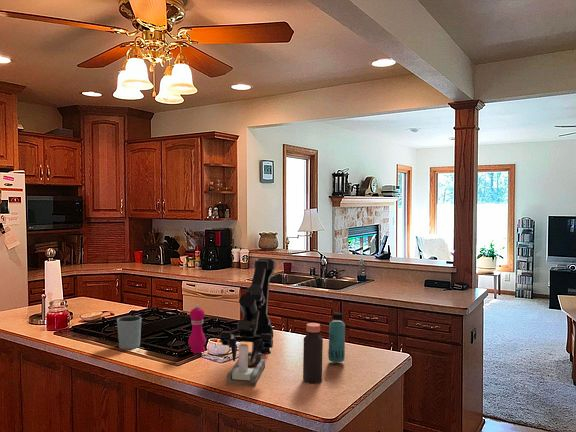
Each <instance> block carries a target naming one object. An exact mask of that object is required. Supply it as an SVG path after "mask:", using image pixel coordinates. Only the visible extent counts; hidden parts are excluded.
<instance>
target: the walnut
mask: <svg viewBox="0 0 576 432" xmlns="http://www.w3.org/2000/svg"><path fill="white" fill-rule="evenodd" d="M250 361H251V356H248V365H249V366H252V365H254V364H255V359H254V360H253V362H252V363H251V362H250Z"/></svg>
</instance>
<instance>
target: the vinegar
mask: <svg viewBox="0 0 576 432" xmlns="http://www.w3.org/2000/svg"><path fill="white" fill-rule="evenodd" d="M305 331H306V333H307V334H306V335H305V336H304V337H303V353H302V354H303V355H302V357H303V359H302V362H303V363H302V380H303V381H304V382H305V383H306V384H311V385H312V384H314V385H315V384H319V383H321V382H322V381H323V353H324V352H323V346H324V342H323V341H324V340H323V339H324V338H323V337H322V336H321V335H320V333H321V324H320V323H317V322H309V323H306V330H305Z"/></svg>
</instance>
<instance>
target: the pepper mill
mask: <svg viewBox="0 0 576 432" xmlns="http://www.w3.org/2000/svg"><path fill="white" fill-rule="evenodd" d="M205 316H206V315H205V310H204V309H203V308H201V307H200V305H199V304H198V303H196V304H195V306H194V308H193V309H191V310H190V312H189V317H190V319H191V322H190V324H191V326H192V329H191V333H190V334H189V337H188V341H187V342H188V346H189V348H190V347H191V349H190V350H191V352H193V353H201V352H204V351H205V350H206V349H205V345H206V343H207V339H206V336H205V333H204V331H203V324H204V318H205ZM204 353H205V352H204Z"/></svg>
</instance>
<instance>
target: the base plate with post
mask: <svg viewBox="0 0 576 432" xmlns="http://www.w3.org/2000/svg"><path fill="white" fill-rule="evenodd" d="M252 352H253V351H251V352H249V351H248V356H251V355H252ZM236 367H238V368H239V358H238V359H237V360H236V361H235V363H234V365H233V366H232V368H230V370H229V372H228V373H227V374H226V385H228V386H241V387H242V386H245V387H256V386H257V383H259V380H260V379H261V377H262V374H263V373H264V371H265V369H266V358H262V354H261V353H258V355H257V356H256V357H255V364H254V365H252V366H249V365H248V368H253V369H254V372H253V374H252V376H251V380H236V379H232V373H233V372H234V370H235V369H236Z"/></svg>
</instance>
